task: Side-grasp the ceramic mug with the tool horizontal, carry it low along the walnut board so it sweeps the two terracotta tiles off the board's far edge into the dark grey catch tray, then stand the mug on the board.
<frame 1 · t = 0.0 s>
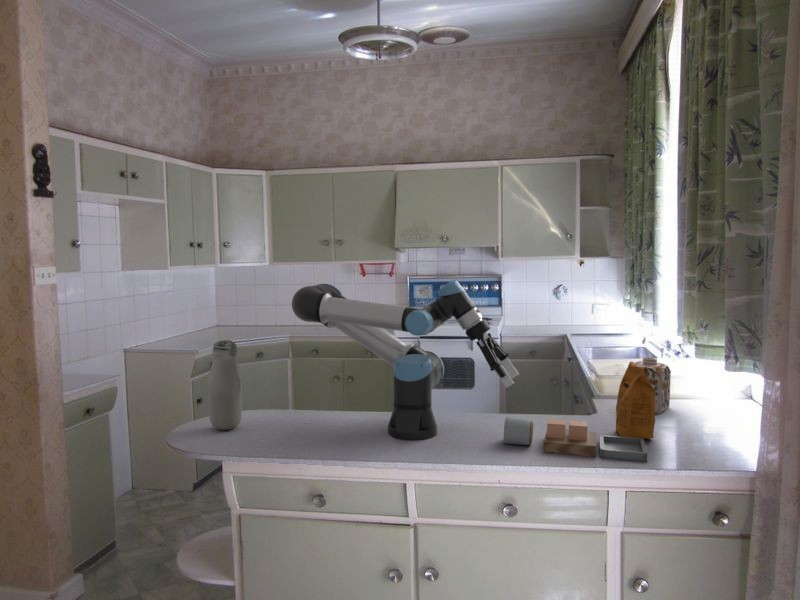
hand: (513, 381, 199), 15 cm above the counter, tool tilted 35°, fingers open, 13 cm apart
tile b: (577, 437, 182), point 3 cm above the counter, touching board
tile a: (556, 435, 184), point 3 cm above the counter, touching board
coffee package: (633, 436, 194), on the counter
glass bottle: (226, 429, 200), on the counter
ceramic mug: (517, 443, 187), on the counter
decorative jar: (648, 409, 226), on the counter
board: (570, 446, 183), on the counter
tray: (622, 451, 179), on the counter
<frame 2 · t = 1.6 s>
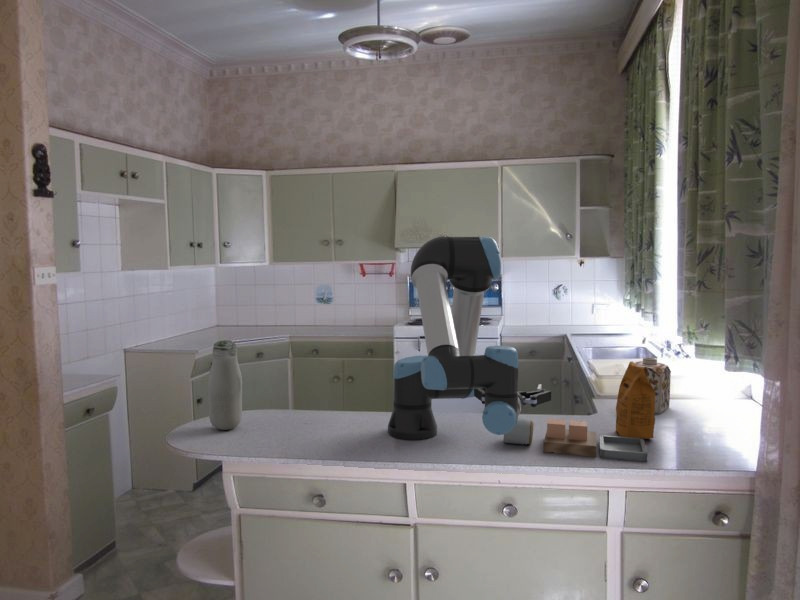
hand: (515, 387, 177), 18 cm above the counter, tool horizontal, fingers open, 13 cm apart
nothing on the counter moved.
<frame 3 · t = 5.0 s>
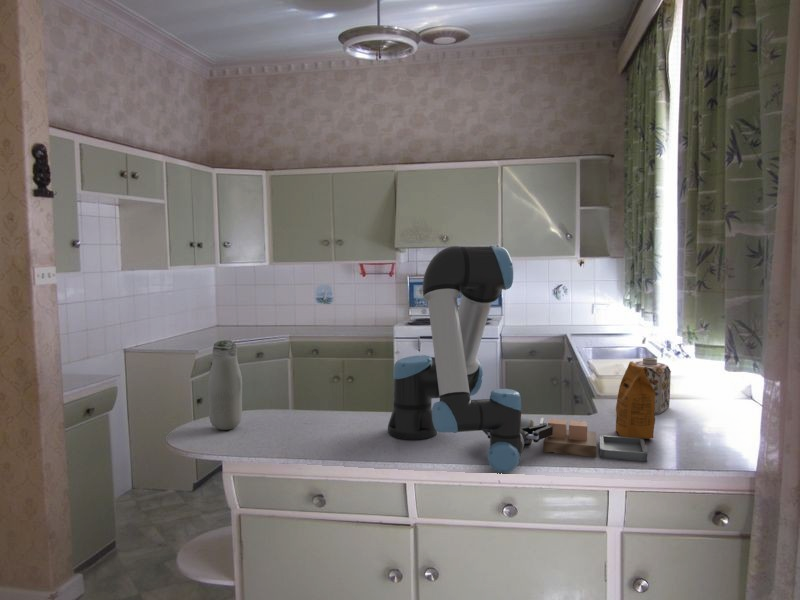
hand: (519, 420, 189), 6 cm above the counter, tool horizontal, fingers open, 13 cm apart
tile a: (557, 435, 184), point 3 cm above the counter, touching gripper
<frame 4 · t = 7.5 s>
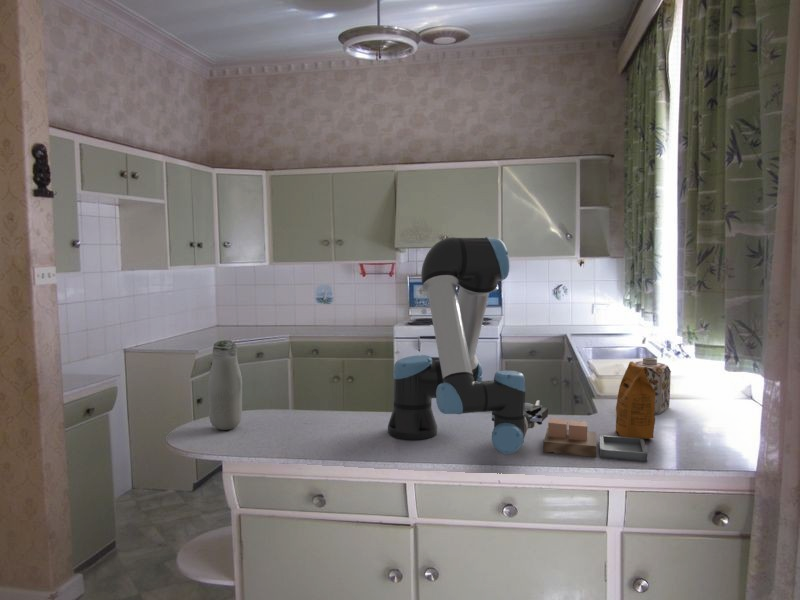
hand: (523, 403, 190), 10 cm above the counter, tool horizontal, fingers closed on ceramic mug, 8 cm apart
tile a: (557, 434, 184), point 3 cm above the counter, touching board
ceramic mug: (520, 426, 188), point 4 cm above the counter, touching gripper
everything else where it was.
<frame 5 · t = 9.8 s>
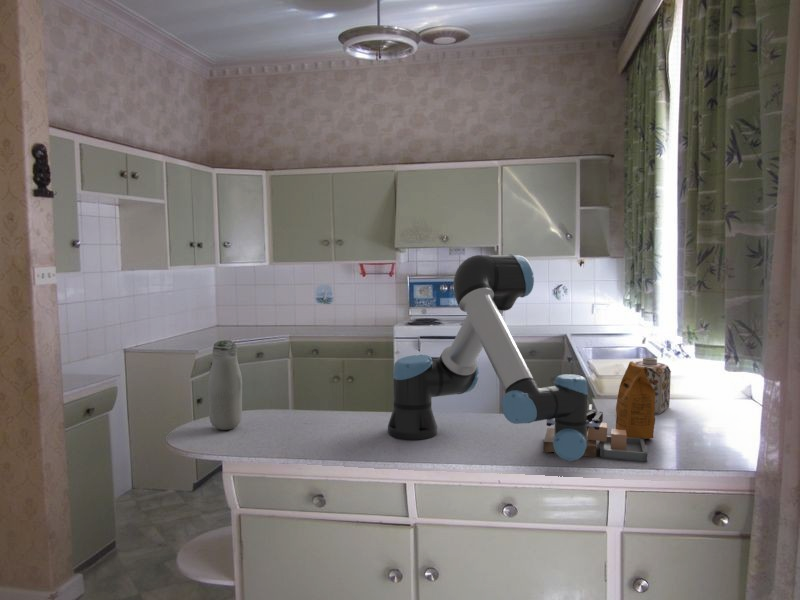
hand: (574, 407, 185), 11 cm above the counter, tool horizontal, fingers closed on ceramic mug, 8 cm apart
tile b: (610, 440, 179), point 3 cm above the counter, tilted 90°, touching tray
tile a: (596, 438, 181), point 3 cm above the counter, touching board, ceramic mug
ceramic mug: (572, 431, 182), point 5 cm above the counter, touching gripper, tile a
everything else where it was.
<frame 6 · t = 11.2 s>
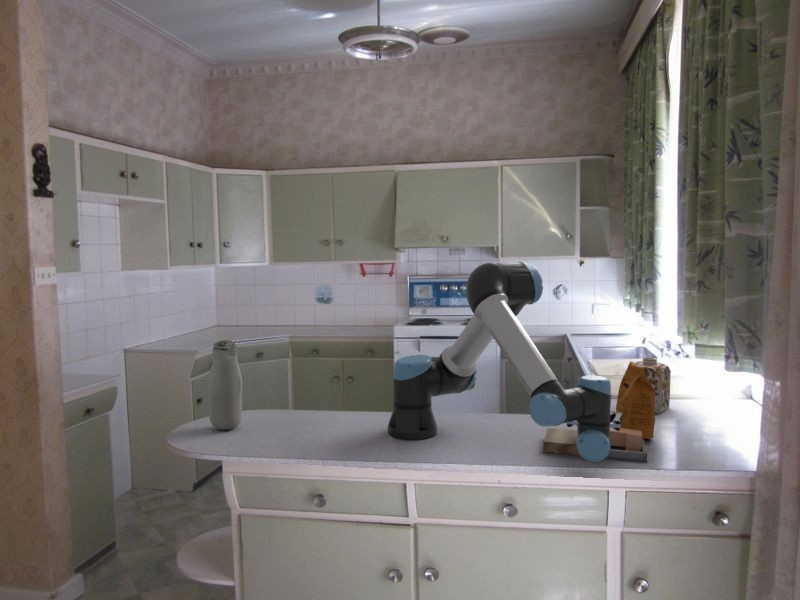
hand: (593, 408, 185), 10 cm above the counter, tool horizontal, fingers closed on ceramic mug, 8 cm apart
tile b: (625, 440, 178), point 3 cm above the counter, tilted 93°, touching tile a, tray
tile a: (615, 443, 181), point 2 cm above the counter, touching ceramic mug, tile b
ceramic mug: (591, 432, 182), point 4 cm above the counter, touching gripper, tile a
everything else where it was.
when the fingers open (10 cm above the counter, at t = 13.2 s): ceramic mug drops 1 cm, resting on board.
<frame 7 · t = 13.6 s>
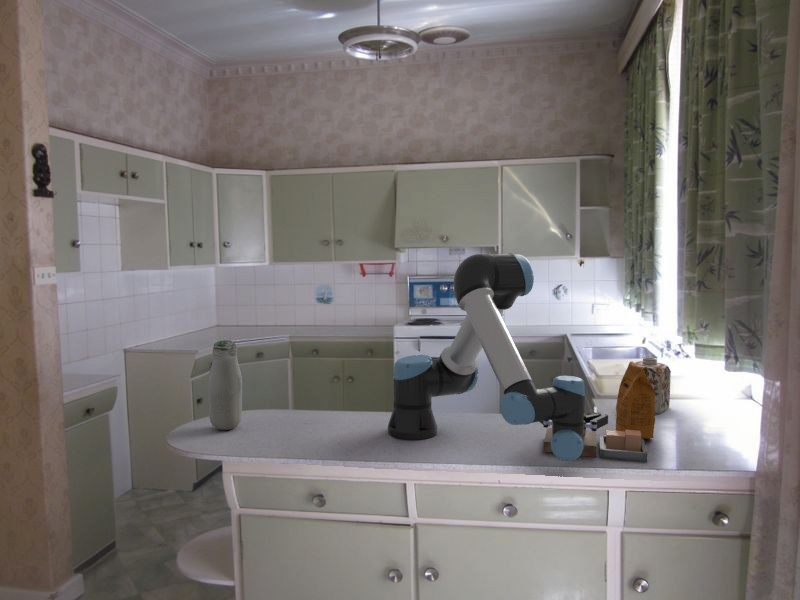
hand: (571, 409, 185), 10 cm above the counter, tool horizontal, fingers open, 12 cm apart
tile b: (625, 440, 178), point 3 cm above the counter, tilted 90°, touching tray
tile a: (615, 446, 181), point 1 cm above the counter, touching tray
ceramic mug: (570, 435, 184), point 3 cm above the counter, touching board
everything else where it was.
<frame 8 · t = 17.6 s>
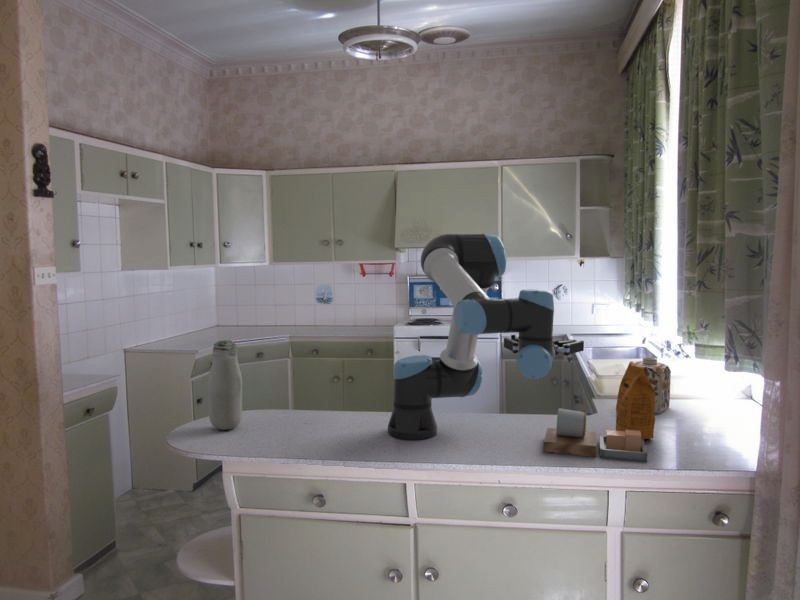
hand: (545, 339, 173), 32 cm above the counter, tool horizontal, fingers open, 13 cm apart
nothing on the counter moved.
at the end: tile a inside the target area (3.3 cm from its centre), point 0.6 cm above the counter; tile b inside the target area (0.3 cm from its centre), point 3.1 cm above the counter; the gripper is holding nothing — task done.
